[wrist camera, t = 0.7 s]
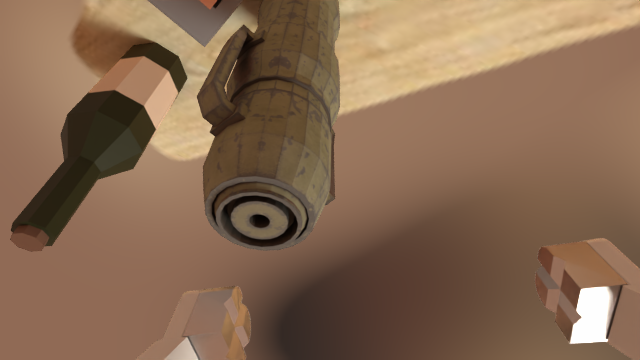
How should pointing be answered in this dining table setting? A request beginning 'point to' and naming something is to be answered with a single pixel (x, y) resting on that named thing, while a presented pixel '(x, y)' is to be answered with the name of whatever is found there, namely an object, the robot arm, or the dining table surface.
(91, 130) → the wine bottle
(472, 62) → the dining table surface
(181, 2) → the key panel
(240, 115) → the thermos
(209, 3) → the clay key
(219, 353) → the robot arm
